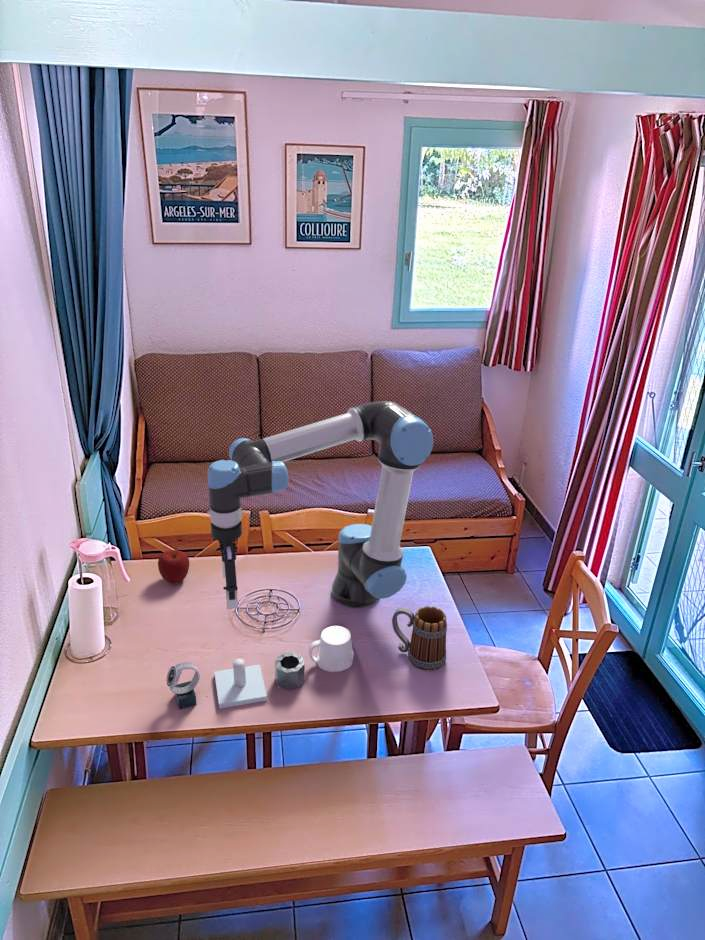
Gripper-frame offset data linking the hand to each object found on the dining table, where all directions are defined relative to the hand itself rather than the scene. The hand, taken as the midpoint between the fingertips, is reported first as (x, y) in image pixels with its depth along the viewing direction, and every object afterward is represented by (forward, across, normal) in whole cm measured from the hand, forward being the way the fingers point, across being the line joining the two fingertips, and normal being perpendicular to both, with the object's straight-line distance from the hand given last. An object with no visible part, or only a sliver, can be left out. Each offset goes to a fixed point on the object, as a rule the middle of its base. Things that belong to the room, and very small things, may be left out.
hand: (230, 591), depth 188 cm
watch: (+22, +13, -13) cm, 29 cm away
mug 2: (+22, +9, +50) cm, 55 cm away
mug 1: (+22, +7, +26) cm, 35 cm away
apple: (+22, -40, -15) cm, 48 cm away
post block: (+22, +12, +1) cm, 25 cm away
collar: (+22, +11, +14) cm, 28 cm away
